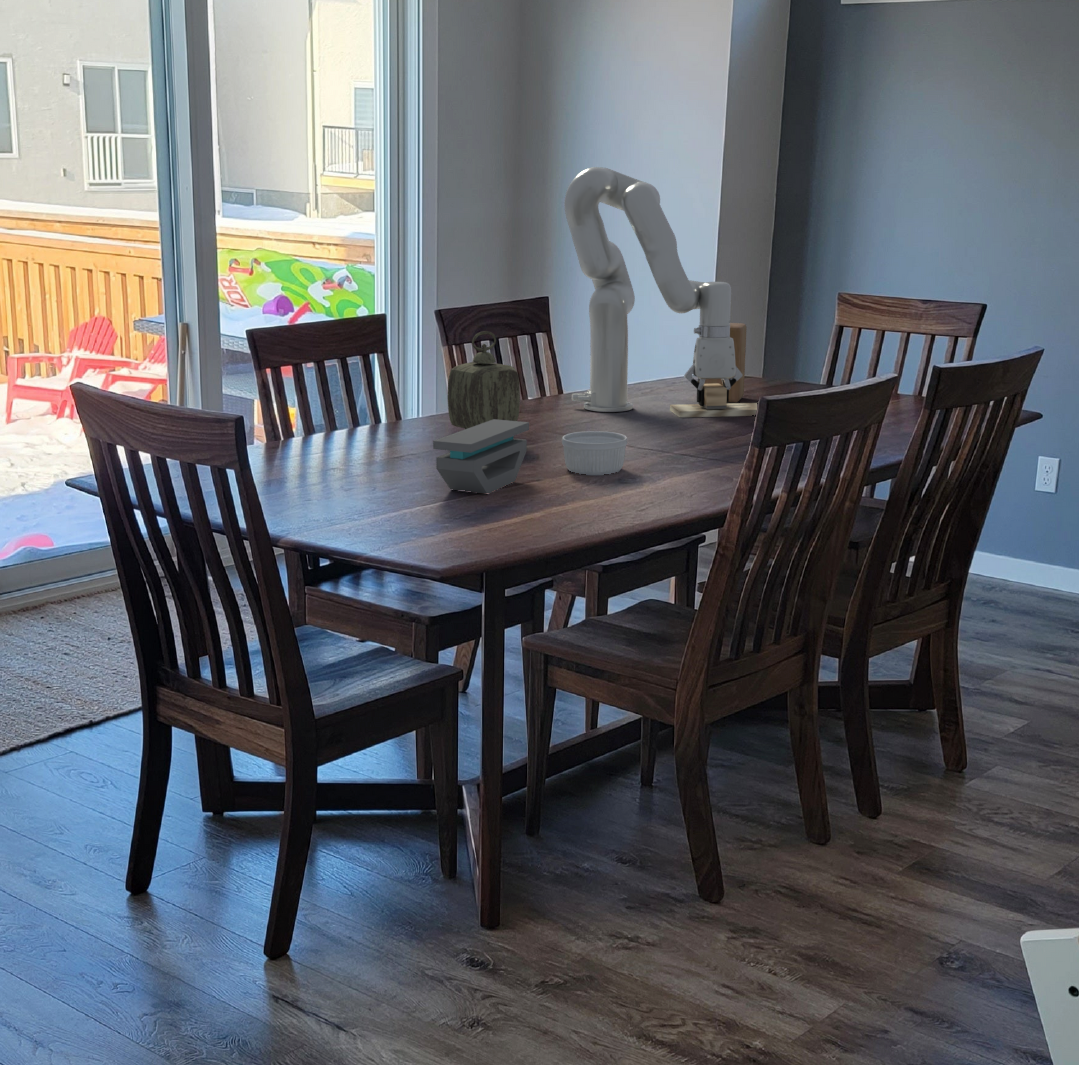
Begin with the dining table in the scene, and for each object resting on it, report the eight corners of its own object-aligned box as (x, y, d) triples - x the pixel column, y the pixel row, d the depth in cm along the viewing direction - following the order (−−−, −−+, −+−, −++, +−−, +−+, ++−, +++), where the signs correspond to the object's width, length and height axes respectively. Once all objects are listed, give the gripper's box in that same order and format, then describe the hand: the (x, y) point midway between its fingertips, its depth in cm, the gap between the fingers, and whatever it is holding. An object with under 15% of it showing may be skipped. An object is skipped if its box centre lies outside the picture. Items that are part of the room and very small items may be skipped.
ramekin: (572, 479, 271) (572, 444, 269) (553, 465, 283) (554, 432, 281) (635, 475, 274) (636, 441, 272) (614, 462, 286) (615, 429, 285)
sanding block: (726, 408, 339) (726, 388, 338) (706, 409, 339) (707, 389, 337) (718, 402, 348) (718, 383, 346) (698, 403, 347) (699, 383, 346)
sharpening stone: (494, 472, 276) (493, 419, 274) (529, 475, 273) (529, 422, 270) (434, 498, 254) (433, 440, 252) (471, 502, 251) (470, 444, 248)
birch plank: (679, 417, 338) (679, 411, 337) (669, 410, 347) (670, 404, 347) (773, 415, 341) (773, 409, 340) (761, 408, 350) (761, 402, 350)
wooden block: (700, 401, 361) (703, 325, 356) (707, 395, 370) (709, 321, 365) (738, 403, 358) (741, 327, 353) (744, 397, 367) (747, 323, 362)
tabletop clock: (496, 436, 313) (495, 327, 306) (523, 442, 306) (523, 330, 300) (448, 445, 303) (446, 332, 296) (475, 451, 297) (474, 336, 290)
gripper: (684, 334, 334) (682, 408, 338) (752, 333, 336) (749, 406, 341) (677, 331, 341) (675, 403, 346) (743, 330, 343) (741, 401, 348)
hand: (712, 404), depth 343 cm, fingers closed on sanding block, 5 cm apart
